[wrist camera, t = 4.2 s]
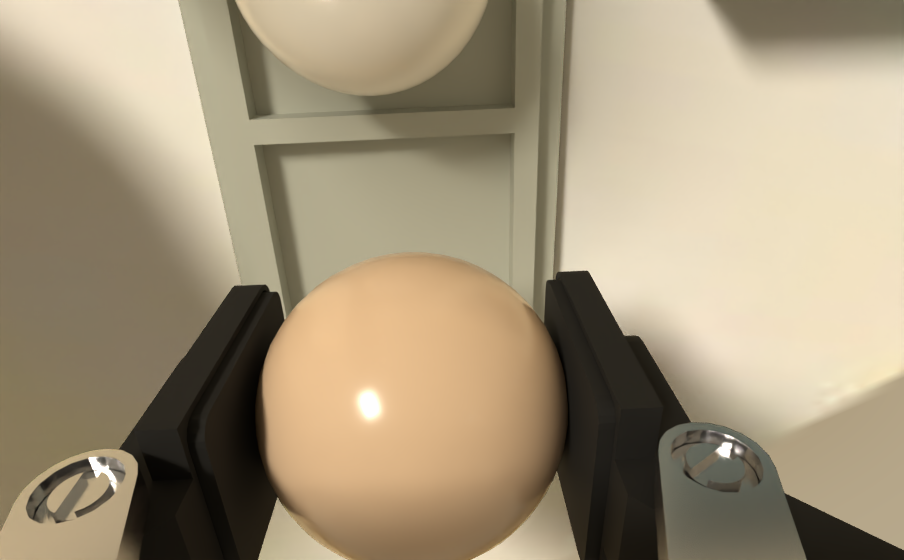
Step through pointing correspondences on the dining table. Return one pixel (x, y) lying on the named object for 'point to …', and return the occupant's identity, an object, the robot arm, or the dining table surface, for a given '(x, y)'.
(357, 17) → the white egg
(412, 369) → the brown egg
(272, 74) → the carton
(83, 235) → the dining table surface
